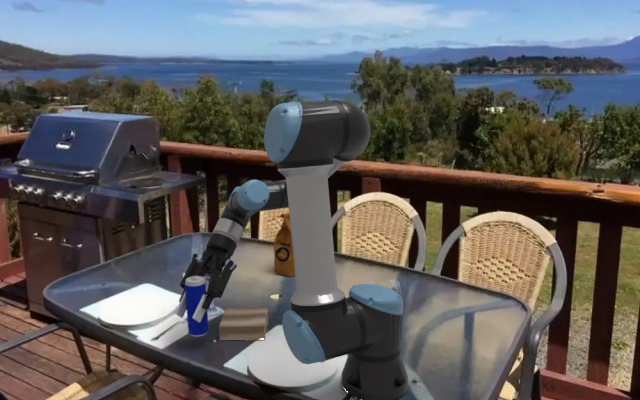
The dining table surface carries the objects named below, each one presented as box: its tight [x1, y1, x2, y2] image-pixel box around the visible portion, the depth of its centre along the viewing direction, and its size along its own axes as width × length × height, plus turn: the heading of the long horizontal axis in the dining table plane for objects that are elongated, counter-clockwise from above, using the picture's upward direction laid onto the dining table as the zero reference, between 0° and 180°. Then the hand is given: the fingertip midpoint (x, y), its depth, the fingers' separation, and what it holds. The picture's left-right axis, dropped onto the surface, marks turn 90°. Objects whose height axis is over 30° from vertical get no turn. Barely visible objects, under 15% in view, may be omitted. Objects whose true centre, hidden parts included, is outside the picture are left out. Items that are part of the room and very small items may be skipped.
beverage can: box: [185, 276, 209, 338], centre depth 147 cm, size 5×5×15 cm
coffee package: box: [273, 212, 295, 278], centre depth 200 cm, size 10×12×22 cm
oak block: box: [218, 307, 269, 341], centre depth 157 cm, size 12×12×4 cm
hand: (187, 317), depth 145 cm, fingers closed on beverage can, 5 cm apart
